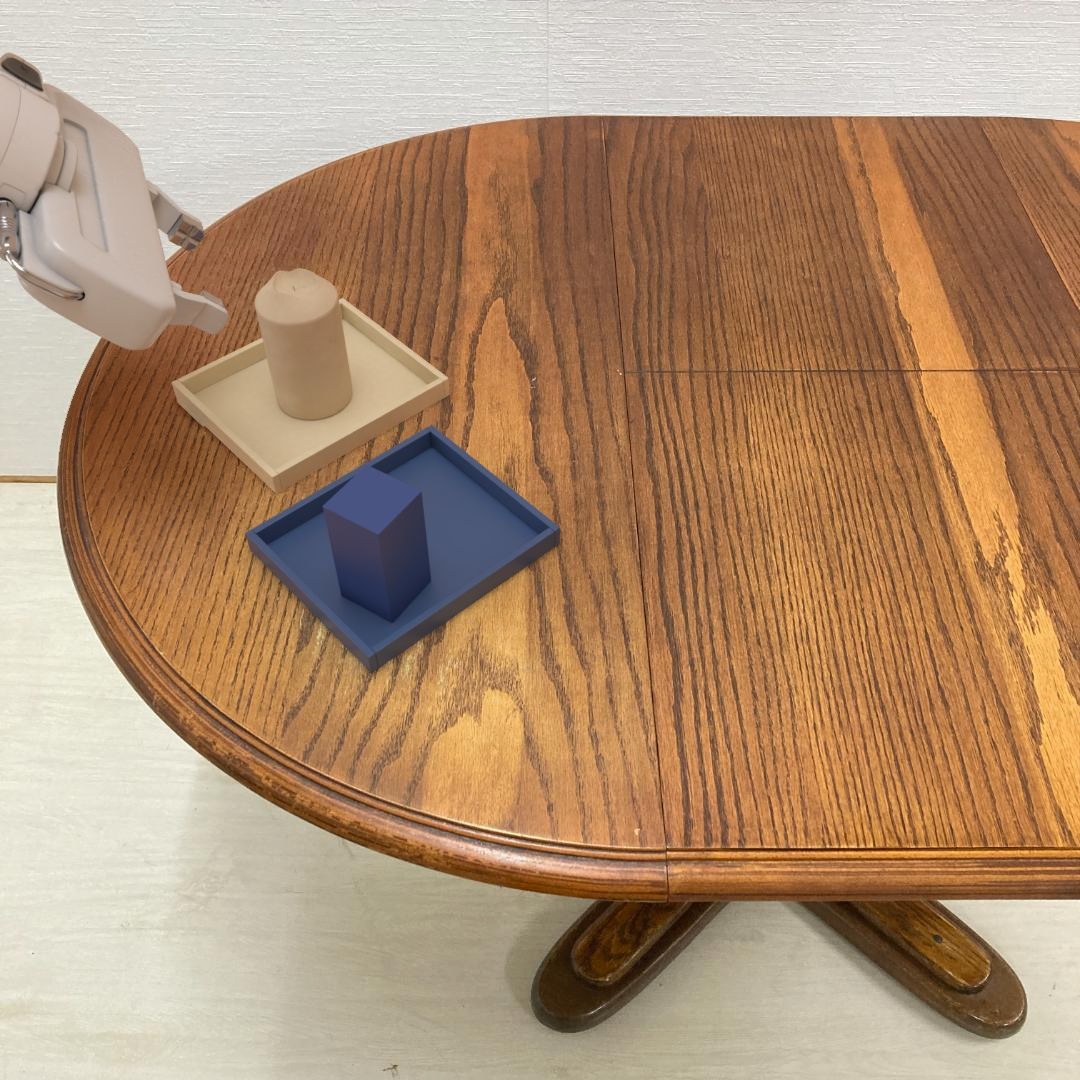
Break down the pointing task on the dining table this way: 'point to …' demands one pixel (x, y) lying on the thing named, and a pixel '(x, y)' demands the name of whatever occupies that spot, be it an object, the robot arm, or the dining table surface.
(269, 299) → the candle
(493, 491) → the blue tray
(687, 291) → the dining table surface
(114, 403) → the dining table surface
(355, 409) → the cream tray
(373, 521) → the blue peg
